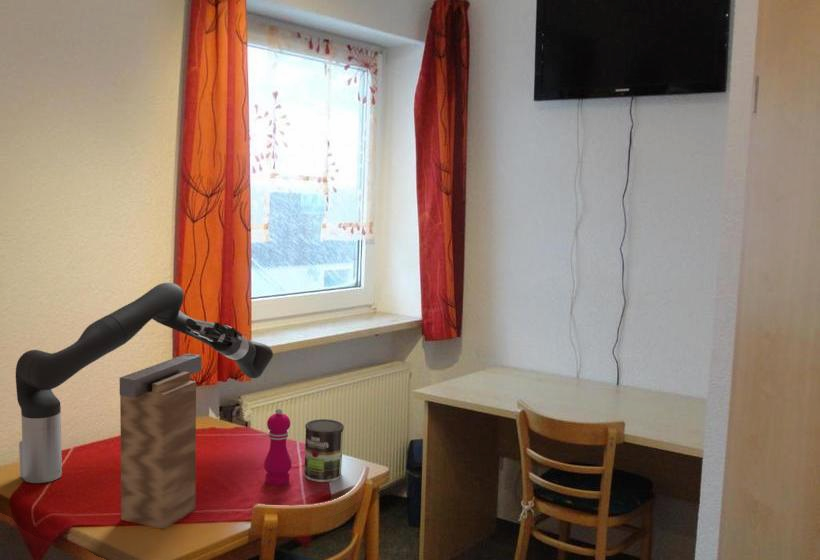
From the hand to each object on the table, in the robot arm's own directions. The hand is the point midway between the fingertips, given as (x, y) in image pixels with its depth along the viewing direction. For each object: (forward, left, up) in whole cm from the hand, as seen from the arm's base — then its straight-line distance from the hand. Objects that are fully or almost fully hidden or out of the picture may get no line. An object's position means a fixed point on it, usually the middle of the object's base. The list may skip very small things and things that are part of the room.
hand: (201, 323), depth 215 cm
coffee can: (+30, +14, -41) cm, 53 cm away
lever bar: (+6, -24, -9) cm, 26 cm away
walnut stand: (+6, -25, -41) cm, 48 cm away
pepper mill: (+21, +5, -41) cm, 46 cm away
